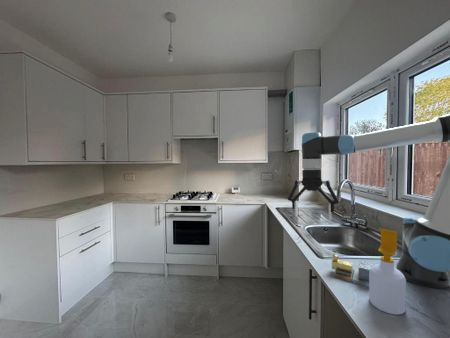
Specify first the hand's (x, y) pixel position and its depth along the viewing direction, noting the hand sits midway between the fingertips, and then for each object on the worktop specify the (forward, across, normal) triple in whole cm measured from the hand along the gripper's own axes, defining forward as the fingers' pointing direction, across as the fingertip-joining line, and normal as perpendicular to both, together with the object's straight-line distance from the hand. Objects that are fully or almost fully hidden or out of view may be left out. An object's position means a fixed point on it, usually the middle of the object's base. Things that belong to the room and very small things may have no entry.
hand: (312, 218), depth 91 cm
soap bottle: (+22, -23, +16) cm, 35 cm away
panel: (+21, -16, +2) cm, 27 cm away
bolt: (+19, -11, +1) cm, 22 cm away
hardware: (+20, -16, +2) cm, 25 cm away
